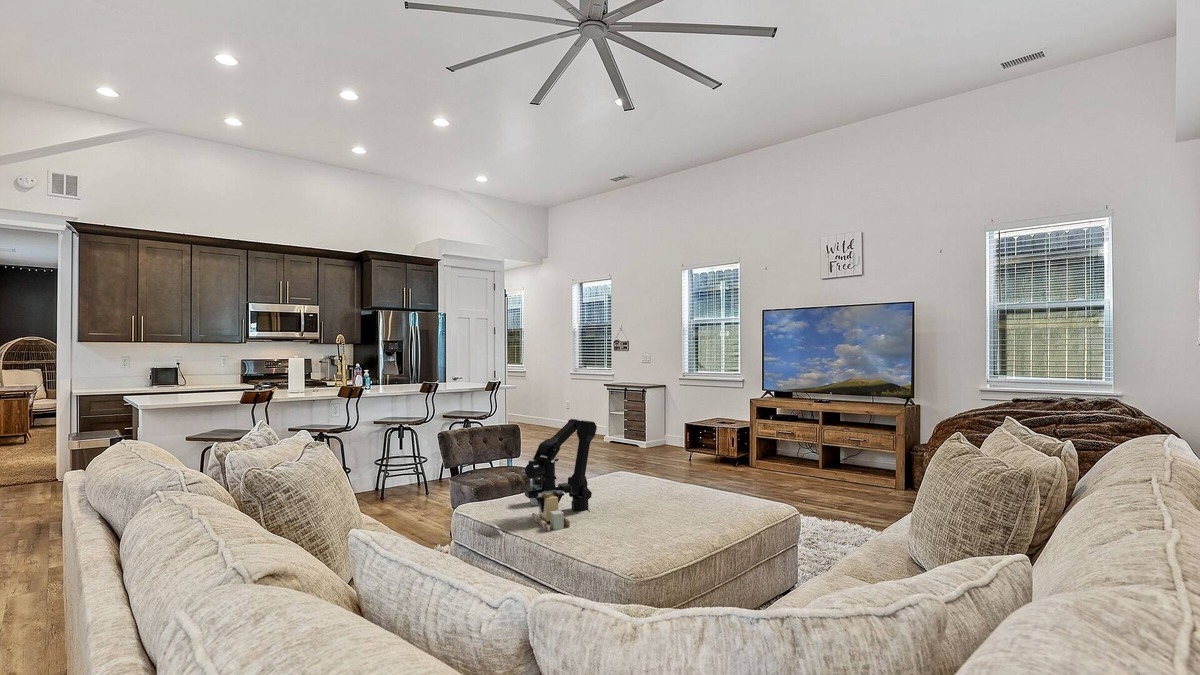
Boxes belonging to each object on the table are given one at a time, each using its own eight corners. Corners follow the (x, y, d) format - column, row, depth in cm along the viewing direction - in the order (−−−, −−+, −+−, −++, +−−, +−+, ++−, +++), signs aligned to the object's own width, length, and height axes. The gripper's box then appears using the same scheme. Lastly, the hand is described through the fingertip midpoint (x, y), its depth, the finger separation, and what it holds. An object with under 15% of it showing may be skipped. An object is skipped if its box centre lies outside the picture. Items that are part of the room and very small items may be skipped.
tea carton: (558, 519, 240) (558, 497, 240) (546, 521, 238) (546, 499, 238) (550, 513, 248) (550, 492, 248) (539, 515, 246) (538, 493, 245)
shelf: (569, 529, 235) (569, 521, 235) (547, 533, 231) (547, 524, 231) (552, 516, 251) (552, 508, 251) (531, 520, 247) (531, 512, 247)
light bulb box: (532, 506, 267) (531, 482, 267) (529, 501, 273) (529, 478, 273) (555, 504, 270) (555, 480, 269) (552, 499, 276) (552, 476, 276)
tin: (559, 525, 238) (559, 509, 237) (563, 528, 234) (563, 512, 234) (550, 527, 236) (550, 511, 236) (554, 530, 232) (554, 514, 232)
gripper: (561, 466, 254) (562, 502, 254) (519, 472, 246) (520, 509, 246) (572, 472, 244) (572, 510, 244) (528, 478, 236) (529, 517, 236)
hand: (548, 511), depth 243 cm, fingers closed on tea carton, 5 cm apart
